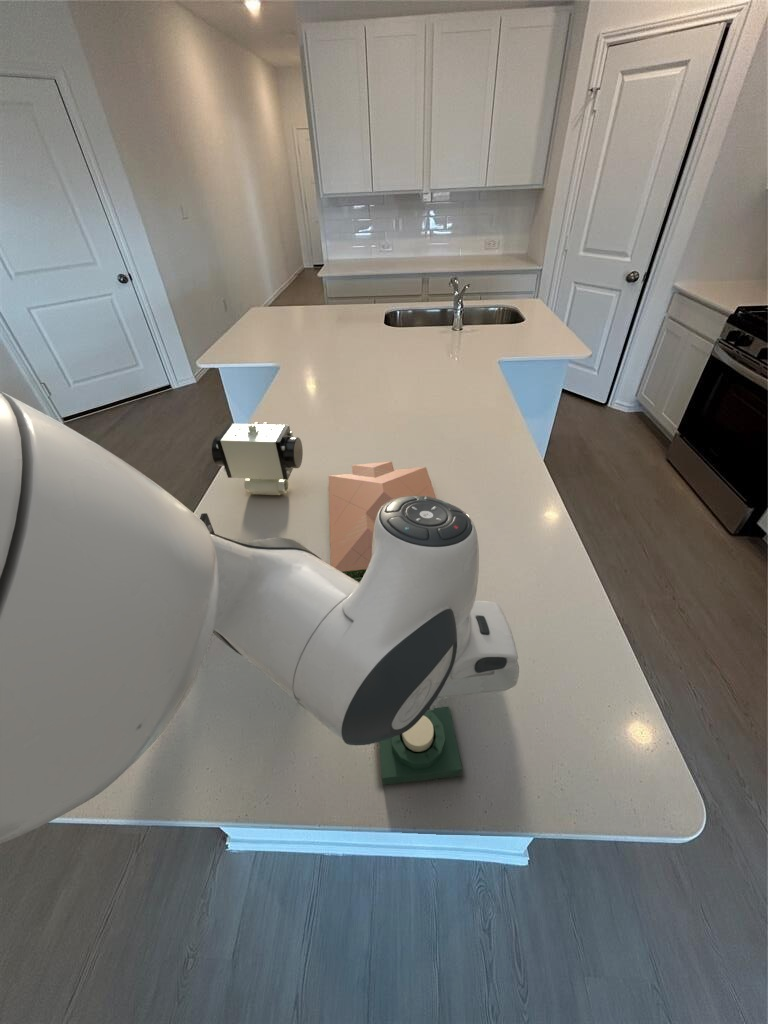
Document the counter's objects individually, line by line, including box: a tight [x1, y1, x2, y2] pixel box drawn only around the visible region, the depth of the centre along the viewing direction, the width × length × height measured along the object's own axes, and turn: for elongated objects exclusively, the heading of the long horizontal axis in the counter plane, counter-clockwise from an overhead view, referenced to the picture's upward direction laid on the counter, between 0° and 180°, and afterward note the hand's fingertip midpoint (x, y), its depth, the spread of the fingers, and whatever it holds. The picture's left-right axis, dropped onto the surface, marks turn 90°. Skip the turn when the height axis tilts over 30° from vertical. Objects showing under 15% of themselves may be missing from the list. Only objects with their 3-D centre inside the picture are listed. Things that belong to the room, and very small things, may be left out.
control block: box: [378, 706, 463, 786], centre depth 57 cm, size 10×8×4 cm
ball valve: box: [211, 421, 304, 496], centre depth 98 cm, size 18×8×18 cm, turn 84°
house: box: [328, 461, 437, 580], centre depth 92 cm, size 23×33×8 cm
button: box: [402, 715, 434, 752], centre depth 56 cm, size 4×4×2 cm
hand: (420, 705), depth 51 cm, fingers closed
